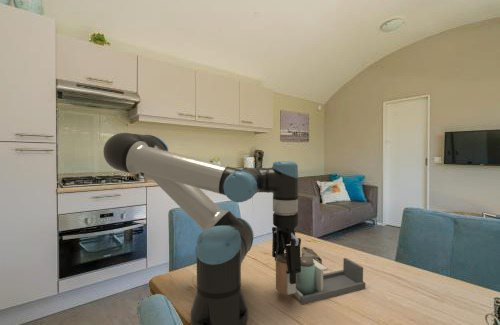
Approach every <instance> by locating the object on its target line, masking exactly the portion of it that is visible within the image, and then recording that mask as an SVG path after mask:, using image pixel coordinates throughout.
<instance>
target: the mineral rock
mask: <svg viewBox="0 0 500 325" xmlns="http://www.w3.org/2000/svg"><path fill="white" fill-rule="evenodd" d="M300 251H301V257H310V258H312V259H314V260H315V261H317V262H318V263H320V264H322V265H323V260H322V258H321V257H320V256H319V255H318V253H316V252H315V251H314V250H313V249H312V248H309V247H307V246H306V247H305V246H302V247H301V248H300Z"/></svg>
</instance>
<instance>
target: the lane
mask: <svg viewBox="0 0 500 325" xmlns="http://www.w3.org/2000/svg"><path fill="white" fill-rule="evenodd" d="M342 264H343V265H342V266H343V267H342V268H343V269H342V270H341V269H340V270H336V271H331V272H327V273H323V291H322V292H318V291H317V290H315V293H314V294H310V295H306V296H303V294H302V293H301V292H299V291H298V290H297V289H296V293H293V294H291V295H292V296H293V297H294V298H295V299H296V300H297V301H298V302H299V303H300V304H301V305H305V304H306V305H307V304H309V303H310V304H311V303H314V302H317V301H322V300H326V299H329V298H333V297H337V296H341V295H344V294H349V293H352V292H356V291H360V290H364V289H366V282H365V281H364V266H362V265H361V264H359V263H356V262H355V261H352V260H351V259H349V258H347V257H344V258H343V263H342Z"/></svg>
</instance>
